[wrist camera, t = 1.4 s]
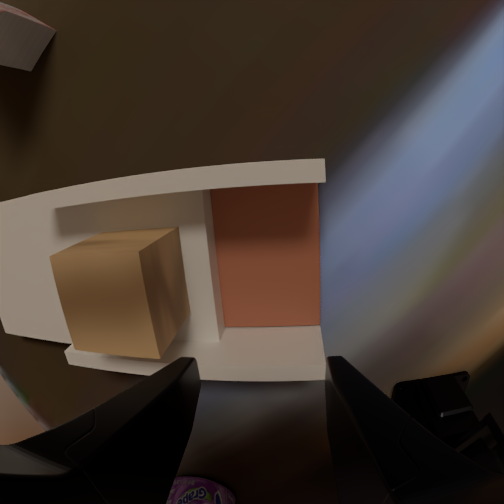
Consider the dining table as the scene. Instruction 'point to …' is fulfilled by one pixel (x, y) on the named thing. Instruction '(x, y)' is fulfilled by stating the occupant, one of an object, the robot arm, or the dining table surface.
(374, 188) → the dining table surface
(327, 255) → the dining table surface
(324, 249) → the dining table surface
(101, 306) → the oak block
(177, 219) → the trap channel
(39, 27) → the grey box
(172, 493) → the beverage can
